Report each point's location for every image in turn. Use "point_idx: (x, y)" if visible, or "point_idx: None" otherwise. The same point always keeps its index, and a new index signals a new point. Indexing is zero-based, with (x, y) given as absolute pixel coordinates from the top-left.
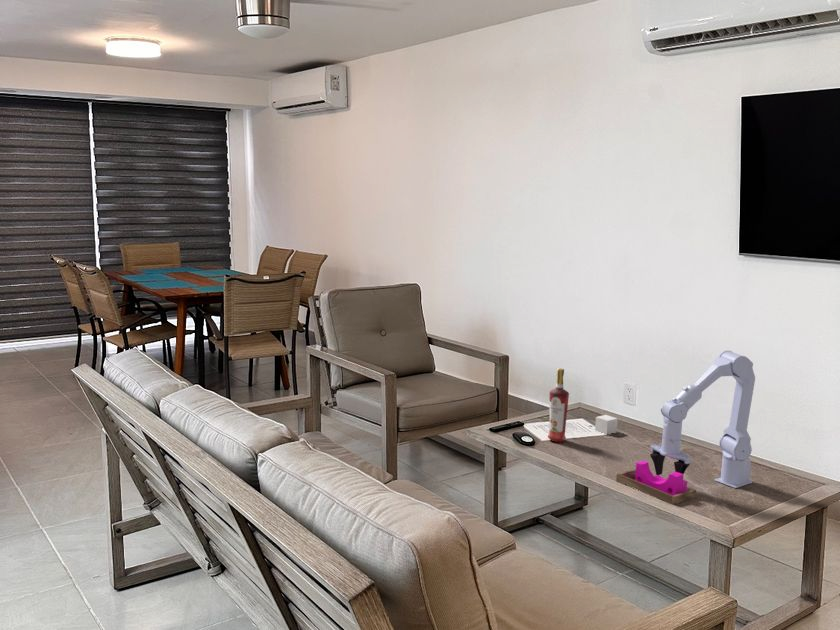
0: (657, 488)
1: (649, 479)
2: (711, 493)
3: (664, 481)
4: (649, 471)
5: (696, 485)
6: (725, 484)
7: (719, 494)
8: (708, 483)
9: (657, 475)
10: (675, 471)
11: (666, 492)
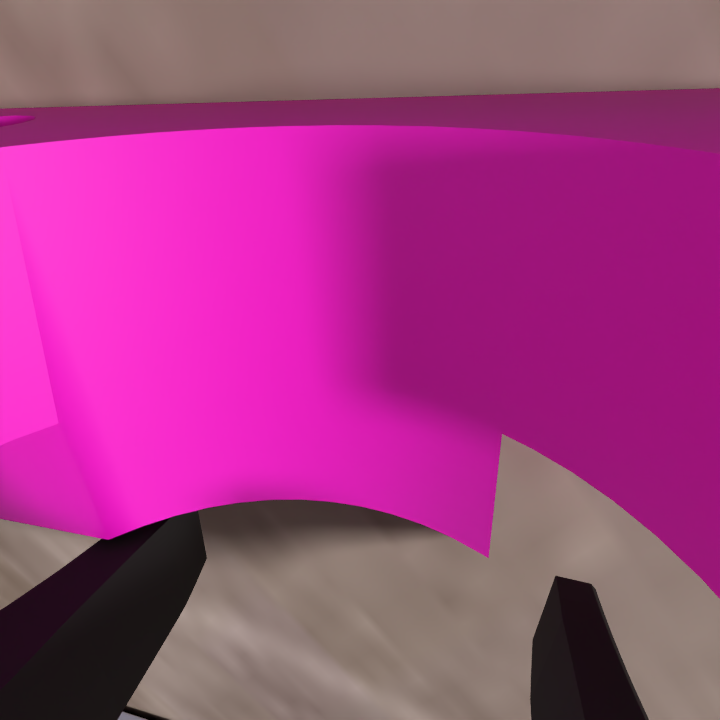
0: (253, 111)
1: (490, 179)
2: (40, 547)
3: (242, 374)
4: (662, 486)
5: (229, 626)
6: (143, 718)
7: (8, 563)
8: (220, 695)
9: (487, 514)
10: (31, 654)
11: (72, 114)
